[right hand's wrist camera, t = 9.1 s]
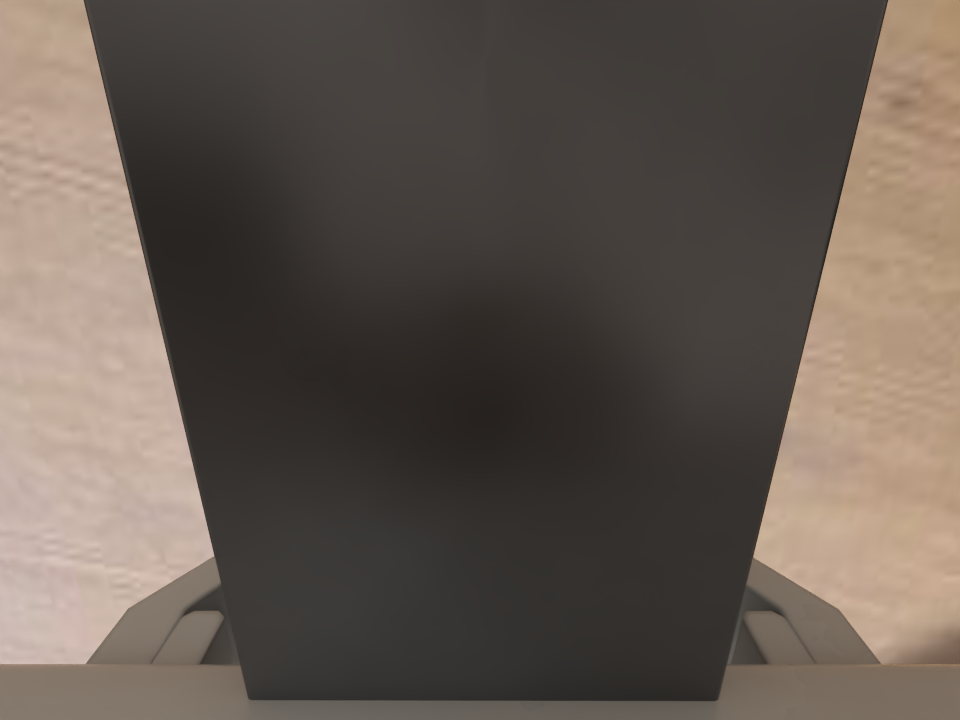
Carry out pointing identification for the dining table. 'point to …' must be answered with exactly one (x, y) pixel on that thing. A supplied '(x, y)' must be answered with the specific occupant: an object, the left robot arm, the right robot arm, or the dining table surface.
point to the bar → (484, 319)
